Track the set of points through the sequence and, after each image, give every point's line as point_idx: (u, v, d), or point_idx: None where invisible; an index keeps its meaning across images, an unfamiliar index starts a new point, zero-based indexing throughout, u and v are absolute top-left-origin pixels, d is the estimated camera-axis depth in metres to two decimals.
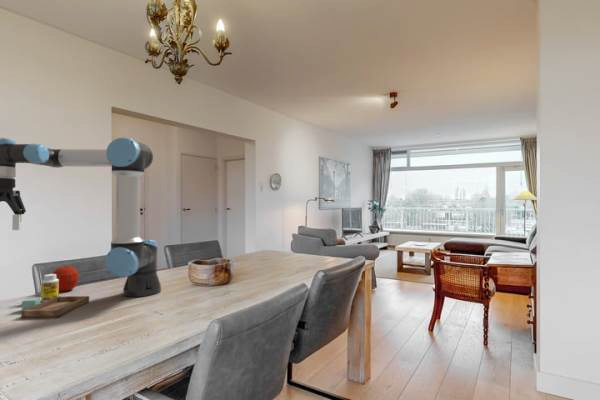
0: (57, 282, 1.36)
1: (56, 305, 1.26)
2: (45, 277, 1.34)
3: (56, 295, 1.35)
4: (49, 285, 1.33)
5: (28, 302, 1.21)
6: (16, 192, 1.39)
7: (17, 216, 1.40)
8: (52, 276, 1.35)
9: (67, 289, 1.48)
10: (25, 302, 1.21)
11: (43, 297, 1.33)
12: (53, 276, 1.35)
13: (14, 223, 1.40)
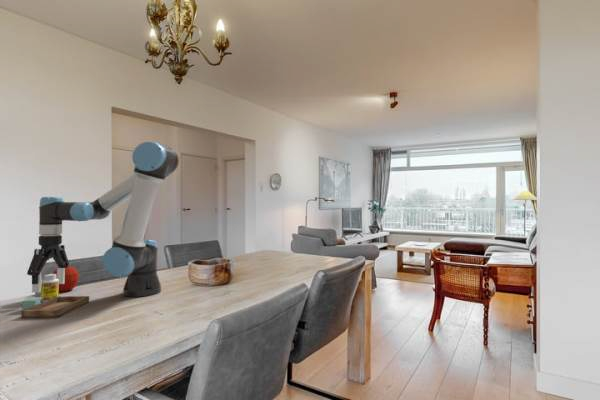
0: (57, 282, 1.36)
1: (56, 305, 1.26)
2: (45, 277, 1.34)
3: (56, 295, 1.35)
4: (49, 285, 1.33)
5: (28, 302, 1.21)
6: (61, 247, 1.41)
7: (61, 270, 1.42)
8: (52, 276, 1.35)
9: (67, 289, 1.48)
10: (25, 302, 1.21)
11: (43, 297, 1.33)
12: (53, 276, 1.35)
13: (59, 277, 1.42)
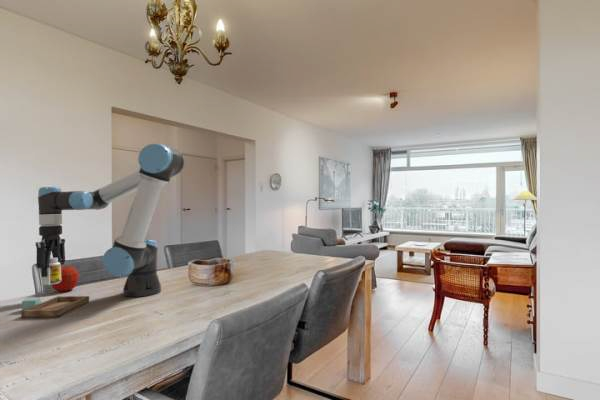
0: (59, 265, 1.36)
1: (56, 305, 1.26)
2: None
3: (58, 278, 1.35)
4: (51, 268, 1.33)
5: (28, 302, 1.21)
6: (62, 240, 1.41)
7: None
8: (54, 259, 1.35)
9: (67, 289, 1.48)
10: (25, 302, 1.21)
11: None
12: (55, 259, 1.35)
13: None
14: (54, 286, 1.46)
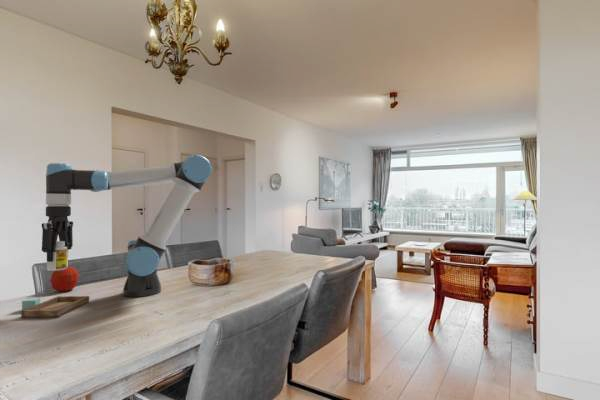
0: (66, 250, 1.24)
1: (56, 305, 1.26)
2: None
3: (65, 264, 1.23)
4: (57, 252, 1.21)
5: (28, 302, 1.21)
6: (70, 222, 1.29)
7: None
8: (60, 243, 1.23)
9: (67, 289, 1.48)
10: (25, 302, 1.21)
11: None
12: (61, 243, 1.23)
13: None
14: (54, 286, 1.46)
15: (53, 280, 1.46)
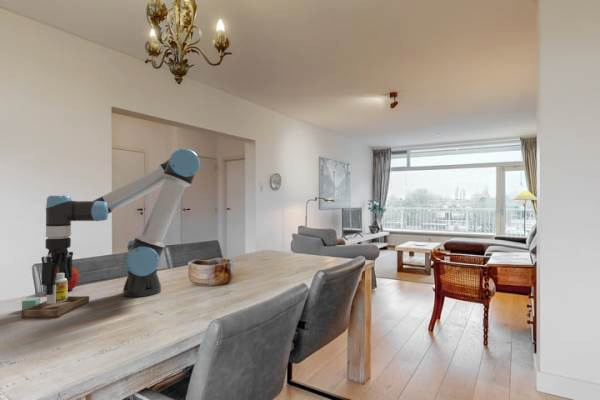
0: (65, 282, 1.24)
1: (56, 305, 1.26)
2: None
3: (64, 296, 1.23)
4: (57, 285, 1.21)
5: (28, 302, 1.21)
6: (70, 253, 1.29)
7: None
8: (60, 275, 1.23)
9: None
10: (25, 302, 1.21)
11: None
12: (61, 275, 1.23)
13: None
14: None
15: None
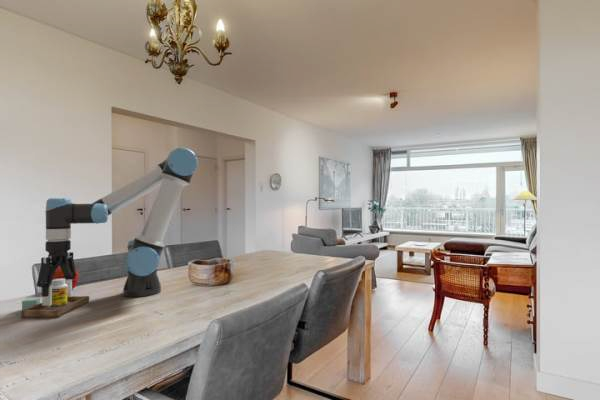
0: (66, 287, 1.24)
1: None
2: (53, 282, 1.22)
3: (65, 302, 1.23)
4: (57, 291, 1.21)
5: (28, 302, 1.21)
6: (70, 254, 1.29)
7: (68, 281, 1.29)
8: (61, 281, 1.23)
9: None
10: (25, 302, 1.21)
11: None
12: (61, 281, 1.23)
13: None
14: None
15: None
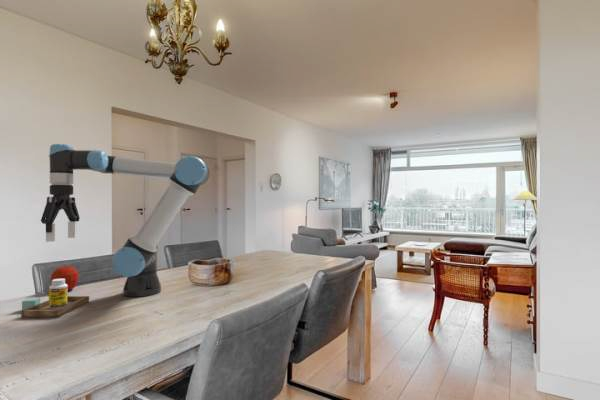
0: (66, 287, 1.24)
1: None
2: (53, 282, 1.22)
3: (65, 302, 1.23)
4: (57, 291, 1.21)
5: (28, 302, 1.21)
6: (72, 199, 1.36)
7: (73, 223, 1.37)
8: (61, 281, 1.23)
9: None
10: (25, 302, 1.21)
11: (51, 304, 1.21)
12: (62, 281, 1.23)
13: (70, 231, 1.37)
14: None
15: None
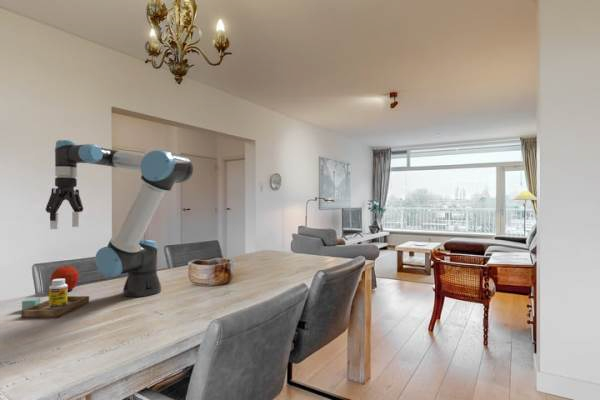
0: (66, 287, 1.24)
1: None
2: (53, 282, 1.22)
3: (65, 302, 1.23)
4: (57, 291, 1.21)
5: (28, 302, 1.21)
6: (76, 191, 1.48)
7: (76, 213, 1.48)
8: (61, 281, 1.23)
9: None
10: (25, 302, 1.21)
11: (51, 304, 1.21)
12: (62, 281, 1.23)
13: (74, 220, 1.48)
14: None
15: None
